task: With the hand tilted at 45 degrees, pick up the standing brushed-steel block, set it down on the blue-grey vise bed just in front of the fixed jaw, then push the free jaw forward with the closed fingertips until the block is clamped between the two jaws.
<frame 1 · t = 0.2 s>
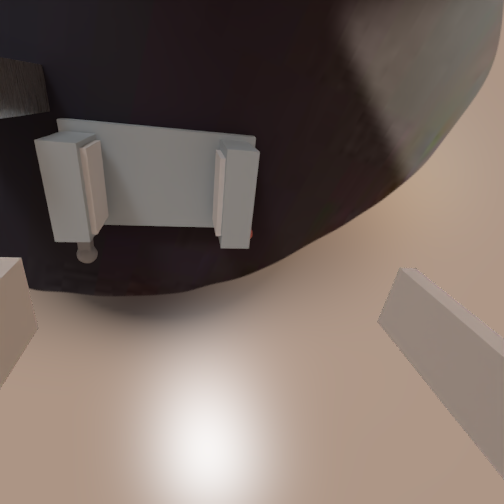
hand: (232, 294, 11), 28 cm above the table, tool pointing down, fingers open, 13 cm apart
vise: (165, 177, 35), on the table
free jaw: (82, 205, 30), point 5 cm above the table, slide at 0.0 cm
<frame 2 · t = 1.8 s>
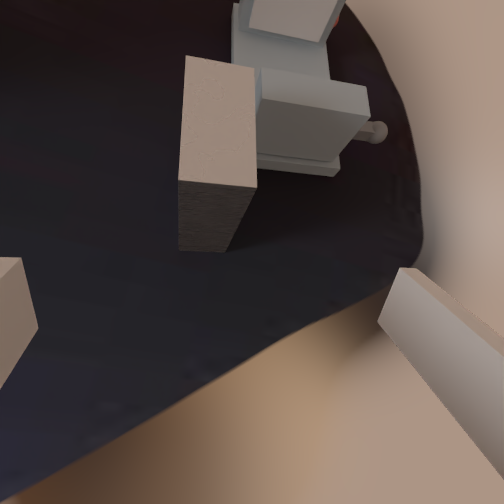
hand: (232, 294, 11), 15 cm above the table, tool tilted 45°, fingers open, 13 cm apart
steel block: (203, 209, 28), on the table
vise: (279, 92, 34), on the table
free jaw: (322, 121, 27), point 5 cm above the table, slide at 0.0 cm
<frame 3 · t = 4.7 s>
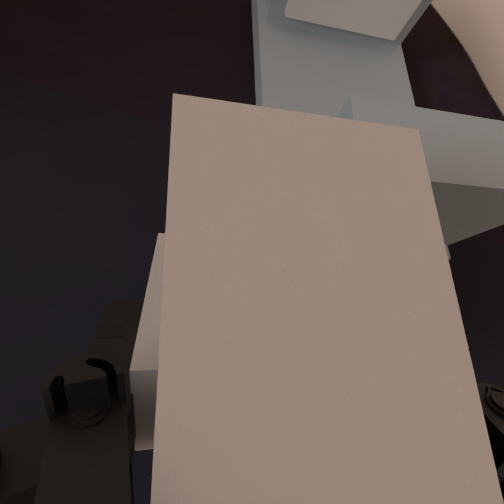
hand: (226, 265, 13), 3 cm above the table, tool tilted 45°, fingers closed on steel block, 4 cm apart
steel block: (217, 358, 15), on the table, touching gripper
vise: (333, 122, 21), on the table
free jaw: (441, 190, 14), point 5 cm above the table, slide at 0.0 cm
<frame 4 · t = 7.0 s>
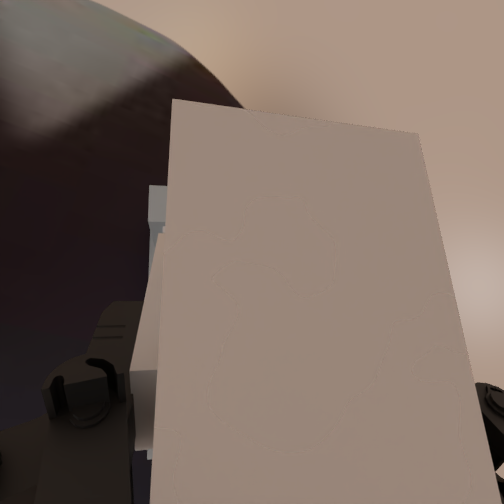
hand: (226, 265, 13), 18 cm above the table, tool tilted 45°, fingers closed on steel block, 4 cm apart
steel block: (217, 359, 15), point 15 cm above the table, touching gripper
vise: (207, 311, 30), on the table
free jaw: (240, 405, 23), point 5 cm above the table, slide at 0.0 cm
when the fingers open (7 cm above the table, at t = 9.5 s): steel block drops 1 cm, resting on vise.
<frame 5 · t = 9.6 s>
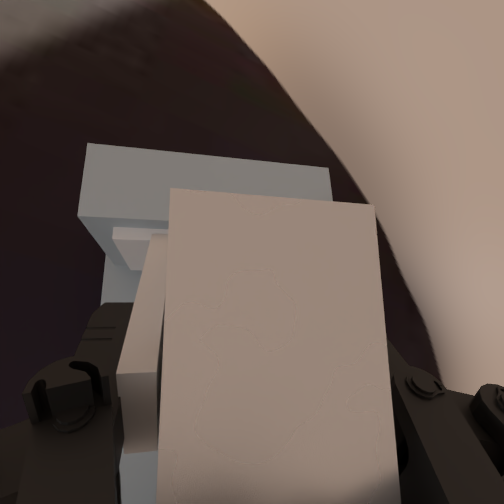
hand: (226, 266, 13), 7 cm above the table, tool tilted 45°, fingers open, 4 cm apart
steel block: (209, 346, 16), point 2 cm above the table, tilted 6°, touching vise
vise: (202, 372, 18), on the table
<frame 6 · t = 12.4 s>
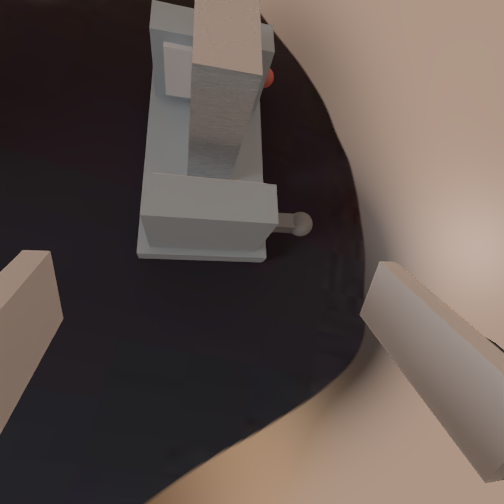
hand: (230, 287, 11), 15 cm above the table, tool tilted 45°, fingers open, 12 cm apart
steel block: (209, 142, 29), point 1 cm above the table, touching vise
vise: (205, 163, 30), on the table
free jaw: (234, 216, 24), point 5 cm above the table, slide at 0.0 cm
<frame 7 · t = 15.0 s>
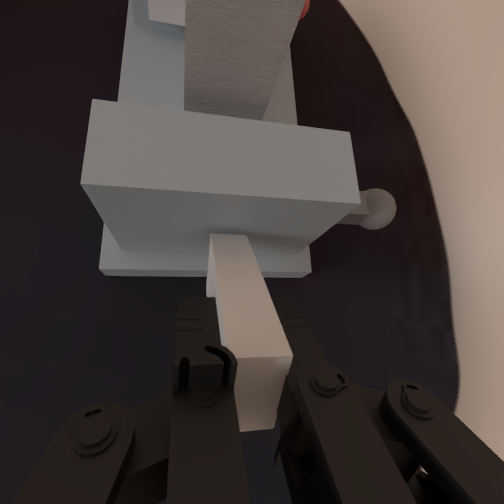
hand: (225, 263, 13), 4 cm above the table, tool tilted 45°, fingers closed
steel block: (217, 94, 19), point 1 cm above the table, touching vise
vise: (211, 129, 20), on the table
free jaw: (265, 196, 14), point 5 cm above the table, slide at 0.4 cm, touching gripper
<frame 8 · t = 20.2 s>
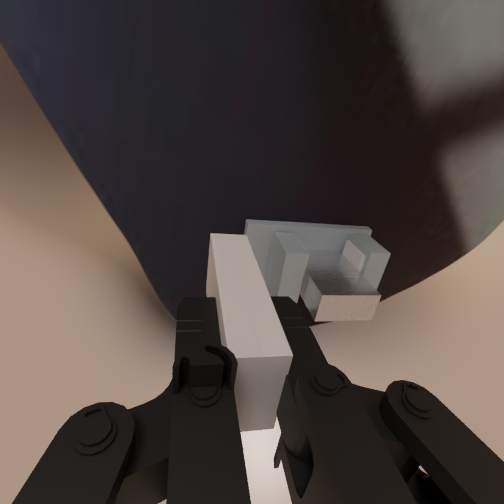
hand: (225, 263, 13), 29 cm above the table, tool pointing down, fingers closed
steel block: (313, 260, 48), point 1 cm above the table, touching free jaw, vise
vise: (302, 254, 49), on the table
free jaw: (283, 281, 44), point 5 cm above the table, slide at 3.5 cm, touching steel block
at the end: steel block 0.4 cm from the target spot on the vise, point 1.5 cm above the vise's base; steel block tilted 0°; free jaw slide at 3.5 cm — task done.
